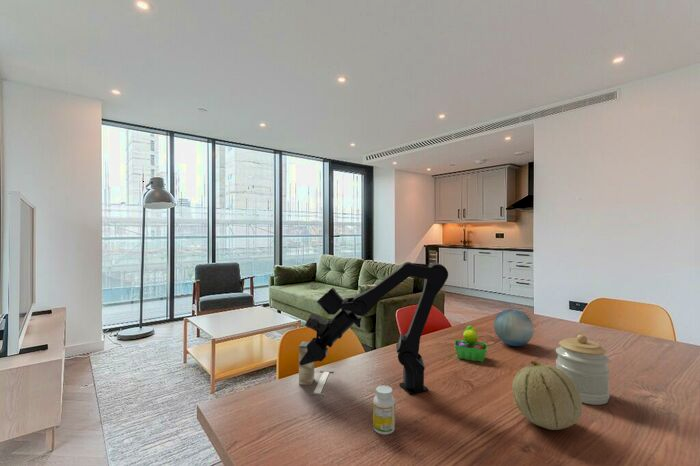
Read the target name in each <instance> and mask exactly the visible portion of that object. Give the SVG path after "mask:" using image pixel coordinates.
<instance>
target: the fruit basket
mask: <svg viewBox="0 0 700 466" xmlns="http://www.w3.org/2000/svg"><path fill="white" fill-rule="evenodd" d="M462 335H463V340H461V339H456V340H455V342H454V348H455V351H456V355H457V359H461V360H467V361H469V360H470V361H474V362H482V363H484V361H485V357H486V354H487V353H488V352H487V351H488V343H486V342H482V341H481V342H479V341H478V340H479V336H478V333H477V330H476V328H475V327H473V325H467V326H466V328H465V329H464V332H463V334H462Z"/></svg>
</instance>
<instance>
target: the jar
mask: <svg viewBox="0 0 700 466" xmlns="http://www.w3.org/2000/svg"><path fill="white" fill-rule="evenodd" d="M558 345H559V346H558V347H556V348H555V352H556V354H557V358H556V359H555V365H556V366H555V367H556V368H558V369H560V370H561V371H563V372H564V373H565V374H566V375H567V376H568V377H569V378H570V379H571V380H572V382H573V383H574V385H575V386H576V388H577V390H578V391H579V394H580V397H581V401H582V404H587V405H594V406H595V405H596V406H597V405H598V406H601V405H605V404H608V402H609V399H610V373H611V371H610V369H609V367H608V364H609V363H610V362H611V359H610V357H609V356H607V355H606V353H607V350H606V349H605V348H604V347H603V346H601V345H600V343H598V342H596V341H593V340H590V339H588V337H587V336H586V335H585V334H578V335H577V336H576V337H566V338H565V339H562V340H560V341H559V342H558Z"/></svg>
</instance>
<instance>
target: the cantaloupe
mask: <svg viewBox="0 0 700 466" xmlns="http://www.w3.org/2000/svg"><path fill="white" fill-rule="evenodd" d="M511 385H512V394H513V395H512V396H513V399H514V402H515V405H516V407H517V408H518V410H519V412H520V414H521V415H522V416H524V418H526V419H527V420H528V421H529V422H531V423H532V424H534V425H536V426H538V427H541V428H544V429H547V430H549V431H551V430H552V431H555V430H556V431H557V430H563V429H566V428H570V427H572V426H573V425H575V424H576V423H577V422H578V421H579V419H580V418H581V414H582V411H583V403H582V401H581V397H580V394H579V391H578V390H577V388H576V386H575V385H574V383H573V382H572V380H571V379H570V378H569V377H568V376H567V375H566V374H565V373H564V372H563V371H561V370H560V369H558V368H556V366H553V365H551V364H550V365H549V364H543V363H539V362H537V361H534V360H532V361H530V365H527V366H526V365H525V366H524V367H523V368H521V369H519V370H518V372H517V373H516V374H515V376H514V378H513V380H512V384H511Z"/></svg>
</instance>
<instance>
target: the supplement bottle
mask: <svg viewBox="0 0 700 466" xmlns="http://www.w3.org/2000/svg"><path fill="white" fill-rule="evenodd" d="M393 395H394V394H393V388H392V387H390V386H388V385H383V384H382V385H378V386H377V387H376V388H375V396H374V398H373V401H372V405H373V406H372V427H373V430H374V432H376V433H377V434H380V435H382V436H383V435H390V434H393V433H394V432H395V430H396V400H395V398H394V396H393Z"/></svg>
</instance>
